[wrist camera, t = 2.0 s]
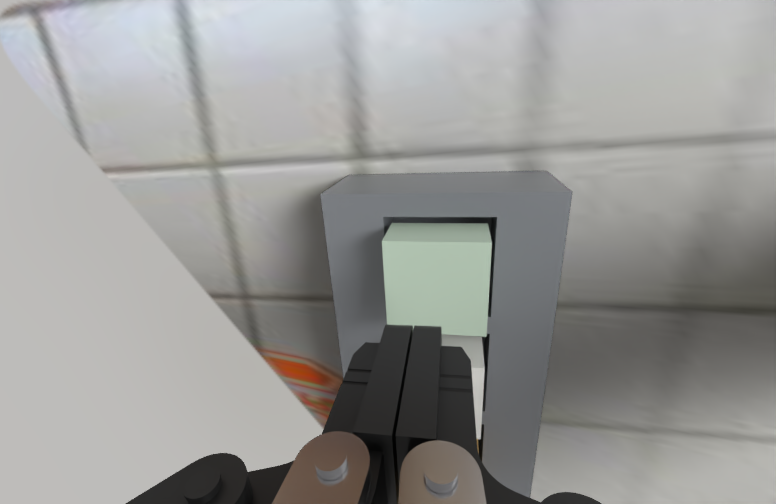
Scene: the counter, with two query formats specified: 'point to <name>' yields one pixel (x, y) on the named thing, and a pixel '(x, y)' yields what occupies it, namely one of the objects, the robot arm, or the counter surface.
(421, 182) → the keypad
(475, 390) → the off-white key
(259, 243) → the counter surface
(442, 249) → the sage green key
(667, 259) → the counter surface
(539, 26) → the counter surface
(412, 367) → the robot arm
